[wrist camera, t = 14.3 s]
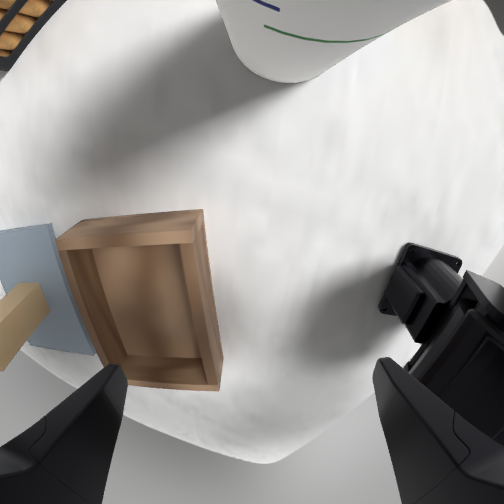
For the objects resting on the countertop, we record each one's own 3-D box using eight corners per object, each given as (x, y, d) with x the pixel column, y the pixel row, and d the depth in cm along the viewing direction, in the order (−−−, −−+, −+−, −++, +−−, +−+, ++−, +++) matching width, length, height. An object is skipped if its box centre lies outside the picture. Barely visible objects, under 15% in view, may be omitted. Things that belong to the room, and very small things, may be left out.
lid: (53, 222, 21) (-24, 279, 12) (97, 349, 27) (59, 421, 18) (-9, 231, 22) (-73, 277, 13) (34, 340, 27) (-6, 396, 18)
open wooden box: (202, 209, 20) (190, 230, 17) (223, 358, 26) (219, 391, 23) (82, 220, 21) (54, 239, 17) (125, 354, 27) (112, 382, 23)
